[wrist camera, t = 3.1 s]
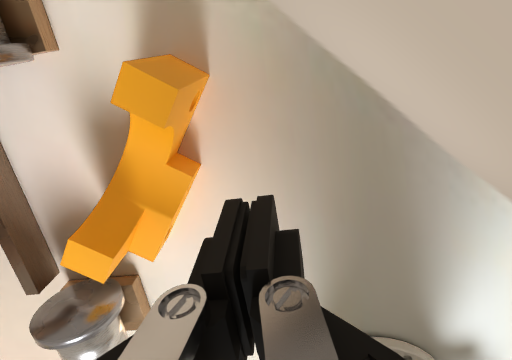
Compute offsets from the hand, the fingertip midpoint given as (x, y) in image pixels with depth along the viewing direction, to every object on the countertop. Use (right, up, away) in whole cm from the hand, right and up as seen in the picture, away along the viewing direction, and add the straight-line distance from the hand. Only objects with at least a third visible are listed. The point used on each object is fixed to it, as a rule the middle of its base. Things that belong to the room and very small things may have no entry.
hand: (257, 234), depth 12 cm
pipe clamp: (-6, +4, +11) cm, 13 cm away
